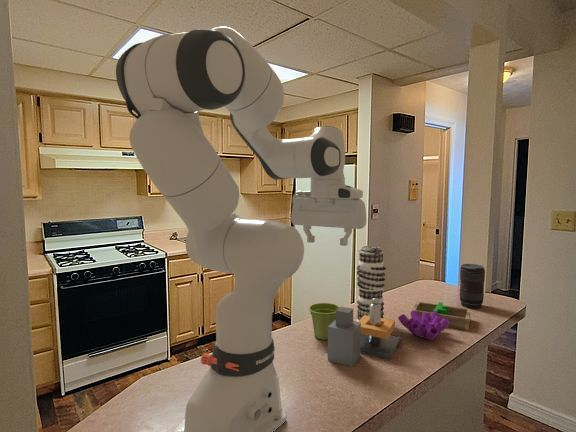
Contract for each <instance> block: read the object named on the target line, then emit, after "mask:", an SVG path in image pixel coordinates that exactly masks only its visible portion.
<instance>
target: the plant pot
mask: <svg viewBox="0 0 576 432" xmlns="http://www.w3.org/2000/svg"><path fill="white" fill-rule="evenodd" d="M340 307H341V306H339V305H337V304H335V303H331V302H330V303H329V302H317V303H313V304H310V306H308V311H309V312H310V315H311V320H312V321H311V322H312V326H313V333H314V336H315V338H317V339H319V340H324V341H325V340H328V326H329V325H330V324H331V323H332V322H334V321H335V320H336V310H337V309H338V308H340Z"/></svg>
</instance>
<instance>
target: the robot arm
mask: <svg viewBox="0 0 576 432" xmlns="http://www.w3.org/2000/svg"><path fill="white" fill-rule="evenodd" d="M115 77H116V83H117V86H118V90H119V92H120V94H121V96H122V97H123V99H124V101H125V104H126V110H127V111H128V113H129V114H130V115H131V116H133V118H134V119H136V121H135V122H134V123H133V125H132V126H131V129H130V132H129V143H130V147H131V149H132V150H133V153H134V154H135V157H136V159H137V160H138V162H139V164H140V167H142V169H143V170H144V172H145V173H146V175H147V176H148V178H149V179H150V181H151V182H152V183H153V185H154V186H155V188H156V189H157V191H159V193H160V194H161V195H162V196H163V197H164V199H165V200H166V201H167V202H168V203H169V205H170V206H171V208H172V209H173V210H174V211H175V213H176V214H177V215H178V216H179V217H180V219H181V220H182V221H183V223H184V225H185V227H186V228H187V231H188V232H187V235H186V238H185V249H186V250H185V251H186V253H187V256H188V257H189V259H190V261H192V262H193V263H195V264H197V265H198V266H201V267H203V268H204V269H205V268H206V269H208V270H210V271H213V272H214V271H215V272H218V273H219V272H220V273H226V274H232V275H234V277H235V283H234V287H233V291H231V292H228V293H227V294H225V295H224V296H223V297H222V298H221V299H220V300H219V301H218V303H217V305H216V307H215V336H216V337H215V338H216V339H215V343H214V345H213V349H212V354H209V353H207V352H204V353H202V355H201V357H200V363H201V364H202V365H207V366H208V370H207V371H206V372H205V374H204V375H203V378H202V379H200V382H199V383H198V385H197V386H196V388H195V390H194V391H193V393H192V394H191V396H190V397H189V399H188V400H187V403H186V406H185V407H186V408H185V412H184V413H185V414H184V418H183V420H182V421H181V422H180V423H179V424H178V425H177V426H176V427H175V428H174V429H173V430H172V432H181V431H182V432H273V431H274V432H276V431H277V430H278V429H279V428H280V427H281V426H280V425H282V424H283V423H284V422H285V421H286V419H287V414H286V412H285V411H284V410H283V408H282V399H281V388H280V387H281V386H280V379H279V376H278V373H277V371H276V368H275V365H274V360H275V350H276V349H275V341H274V339H273V337H272V335H273V334H272V331H273V329H272V327H273V326H272V325H273V324H272V323H273V308H274V302H275V298H276V297H277V293H278V291H279V289H281V286H282V284H283V283H284V282H286V280H288V279H289V278H291V277H292V276H294V274H295V273H296V272H297V271H298V270H299V269H300V267H301V265H302V264H303V260H304V255H305V245H304V242H303V241H304V240H303V238H302V236H301V234H300V232H299V231H298V229H297V228H296V227H294V226H292V225H295V226H303V228H302V229H303V232H304V233H305V235H306V240H307V241H306V242H307V243H310V244H311V243H315V241H316V239H315V237H316V235H313V234H312V232H311V229H312V227H321V228H324V227H325V228H337V229H343V232H344V233H345V234H344V236H343V237H341V238H340V239H339V242H340V243H339V245H340V246H342V247H346V246H348V244H349V238H350V237H351V234H352V233H353V229H355V230H357V229H358V230H361V229H363V228H365V226H367V210H366V204H365V202H364V201H363V199H362V198H363V196H364V191H363V190H361V189H359V188H356V187H353V186H351V185H347V184H346V183H345V182H346V181H345V179H346V178H345V173H344V170H345V169H344V168H345V164H346V145H345V139H344V138H345V137H344V134H343V131H342V130H341V129H340V128H338V127H336V126H330V125H321V126H318V127H315V128H314V130H313V132H312V134H311V135H308V136H306V137H298V138H296V137H295V138H286V139H285V138H277V137H274V136H273V134H271V132H270V131H269V129H268V126H270V124H272V123H273V122H274V120H276V119H277V117H278V116H279V114H280V112H281V110H282V107H283V104H284V102H285V101H284V100H285V90H284V89H285V88H284V86H283V83H282V81H281V79H280V78H279V76H278V74H277V73H276V72H275V70H274V69H273V68H272V66H271V65H270V64H269V63H268V61H267V60H266V59H265V58H264V57H263V56H262V54H261V53H260V52H259V51H258V50H257V49H256V48H255V47H254V46H253V45H252V44H251V43H250V42H249V41H248V40H247V39H246V38H245V37H243V36H242V35H241V34H240V33H239V32H237V31H236V30H235V29H233V28H232V27H228V26H218V27H213V28H211V29H210V28H207V29H206V28H196V29H192V30H190V31H188V32H187V31H186V32H177V33H165V34H162V35H159V36H155V37H152V38H150V39H148V40H145V41H144V42H143V41H142V42H138V43H135V44H133V45H132V46H130V47H129V48H127V49H126V50H125V51H124V52H122V54H121V55H120V57H119V58H118V60H117V62H116V66H115ZM223 107H225V108H226V109H227V110H228V112H229V117H230V122H231V124H232V127H233V128H234V130H235V131H236V132H237V134H238V135H239V137H240V138H241V139H242V140H243V142H245V144H246V145H247V146H248V148H249V149H250V150H251V151H252V153H253V154H254V156H256V158H257V159H258V161H259V162H260V164H261V166H262V168H263V170H264V172H265V173H266V174H267V175H268V176H269V177H270V178H271V179H272V180H275V181H277V180H287V179H310V190H305V191H303V190H298V191H297V192H295V193H294V194H293V195H292V207H291V208H292V209H291V218H290V220H291V223H292V225H288V224H286V223H283V222H280V221H277V220H276V221H275V220H272V219H271V220H269V219H256V218H253V219H251V218H244V217H242V216H239V215H238V214H236V213H235V211H236V209H237V208H238V204H239V201H240V188H239V186H238V184H237V182H236V180H235V179H234V178H233V176H232V174H231V173H230V170H228V168H227V166H226V165H225V163H224V162H223V160H222V159H221V157H220V155H219V154H218V152H217V151H216V149H215V148H214V146H213V145H212V144H211V142H210V141H209V139H208V138H207V136H206V135H205V133H204V131H203V128H202V124H201V121H200V112H201V111H206V110H210V111H212V110H213V111H214V110H217V109H220V108H223ZM286 422H287V421H286ZM286 422H285V423H286ZM285 423H284V424H285ZM284 424H283V425H284ZM283 425H282V426H283ZM279 426H280V427H279ZM278 427H279V428H278ZM277 428H278V429H277ZM276 429H277V430H276Z"/></svg>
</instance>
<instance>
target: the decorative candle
mask: <svg viewBox="0 0 576 432" xmlns="http://www.w3.org/2000/svg"><path fill="white" fill-rule="evenodd" d="M358 253H359V259H358V265H357V266H356V269H357V271H356V274H357V277H356V280H357V282H356V285H357V288H358V296H357V297H358V300H357V306H356V307H357V310H356V319H357V320H356V322H358V321H359V320H360V319H361V318H362V317H363V316H364V315H367V316H370V303H371V302H372V298H378V299H379V303H380V304H381V318H384V314H385V313H384V310H385V308H384V305H385V303H384V296H383V291H384V289H385V284H384V283H383V282H384V281H385V280H386V278H385V276H386V273H385V272H383V271H386V270H387V268H386V267H385V261H384V253H385V251H383V250H382V249H381V247H380V246H376V245H365V246H363V247H361V248H360V250H358Z"/></svg>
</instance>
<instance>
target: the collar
mask: <svg viewBox="0 0 576 432" xmlns="http://www.w3.org/2000/svg"><path fill="white" fill-rule="evenodd" d="M358 322H360V323H361V334H364V335H369V336H373V337H378V338H383V339H387V338H388V337H389V335H391V334H392V333H393V331H394V329H395V328H396V320H395V319H389V318H384V317H383V318H381V327H377V326H372V325H369V324H370V316H367V315H364V316H363V317H362V318H361V319H360V320H359V321H358Z"/></svg>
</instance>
